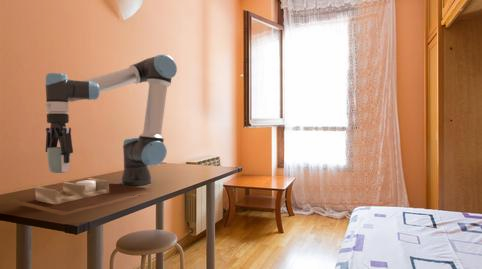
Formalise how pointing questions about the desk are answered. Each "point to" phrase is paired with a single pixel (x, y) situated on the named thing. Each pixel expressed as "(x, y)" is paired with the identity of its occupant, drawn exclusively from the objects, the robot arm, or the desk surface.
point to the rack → (70, 192)
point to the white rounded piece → (88, 185)
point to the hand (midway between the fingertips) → (59, 170)
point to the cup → (55, 159)
